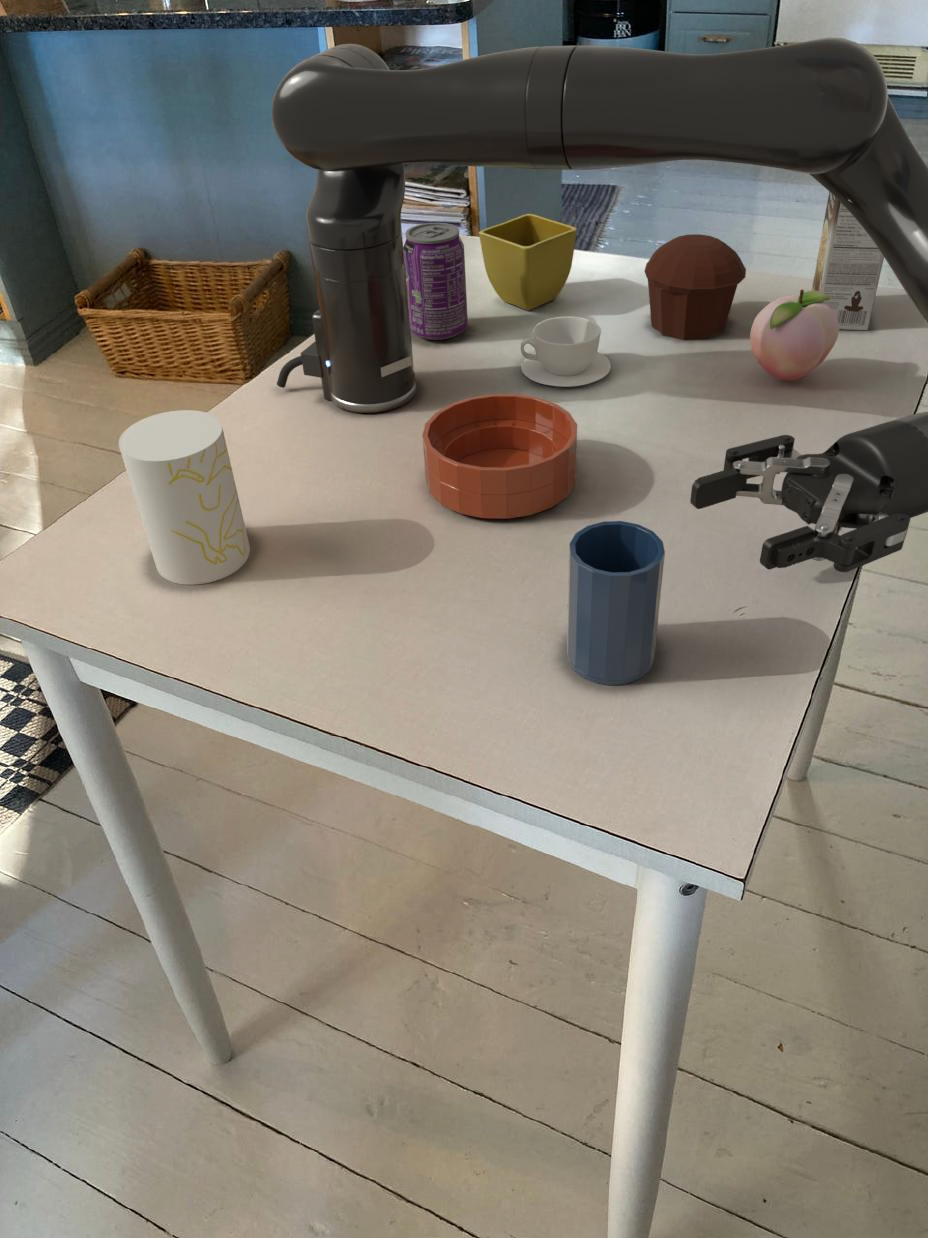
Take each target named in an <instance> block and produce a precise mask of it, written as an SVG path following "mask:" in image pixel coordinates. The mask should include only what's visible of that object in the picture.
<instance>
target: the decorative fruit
mask: <svg viewBox="0 0 928 1238" xmlns="http://www.w3.org/2000/svg"><path fill="white" fill-rule="evenodd" d="M825 300H830V298H829V296H827V295H826V294H824V293H823V292H820V291H812V290H807V291H805V289H800V291H799V295H785V296H781V297H779V298H777V299H775V300H773V301H771V302H769V303H768V304H767V305H766V306H764V307H763V308H762V309H761V310H760V312H758V313H757V315H756V316H755V317H754V320H753V322H752V325H751V328H750V334H749V341H750V347H751V351H752V353H753V354H752V355H753V356H754V358H755V359H756V361H757V364H758V365H759V366H760V367H761V368H762V370H764V371H765V372H766V373H767V374H769V376H772V377H774V378H775V379H779V380H781V381H785V382H791V381H792V382H793V381H797V380H798V379H801V378H802V379H803V377H805V376H807V375H809V373H812V371H813V370H815V369H816V368H817V367H819V366H820V365H821V364H822V363H823V362H824V361H825V360H826V358H827V357H828V355H829V354H830V352H832V349H833V347H834V346H835V344H836V343H837V340H838V337H839V334H840V329H839V323H838V319H837V317H836V314H835V312H834V311H833V309H832V308H831V307H830V306H829V305H828V304H826V303H825V302H824V301H825Z"/></svg>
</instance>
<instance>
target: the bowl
mask: <svg viewBox="0 0 928 1238" xmlns="http://www.w3.org/2000/svg"><path fill="white" fill-rule="evenodd" d="M421 437H422V448H423V461H424V471H425V481H426V485H427V488H428V491H429V494H430V496H431V497H433V498H434V499H435V500H436V501H437V502H438V503H439V504H440V505H441V506H443V507H446V508H448V509H449V510H452V511H454V512H456V513H458V514H460V515H464V516H465V515H466V516H471V517H474V518H475V517H476V518H479V519H505V520H507V519H514V518H522V517H526V516H532V515H535V514H537V513H540V512H543V511H546V510H548V509H551V508H553V507H554V506H556V505H557V504H559V503H560V502H561V501H563V500H564V499H566V498H567V497H568V496H569V495H570V493H571V492H572V490H573V489H574V487H575V486H576V483H577V481H576V480H577V453H578V450H577V449H578V424H577V422H576V420H575V419H574V417H573V415H572V414H571V413H570V412H569V411H567V410H566V409H564V408H563V407H562V406H560V405H559V404H557V403H554V402H551V401H549V400H546V399H544V398H541V397H538V396H531V395H526V394H525V395H524V394H518V393H492V394H485V395H479V396H471V397H468V398H465V399H461V400H459V401H456V402H452V403H450V404H448V405H446V406H445V407H442V408H441V409H439V410H438V411H436V412H435V413H433V415H432V416H431V417H430V418H429V419H428V420H427V421H426V422H425V424H424V428H423V431H422V436H421Z"/></svg>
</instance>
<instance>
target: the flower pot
mask: <svg viewBox="0 0 928 1238" xmlns="http://www.w3.org/2000/svg"><path fill="white" fill-rule="evenodd" d="M577 232H578V228H577V227H574V226H572V225H569V224H565V223H562V222H559V221H556V220H553V219H549V218H547V217H543V216H540V215H537V214H534V213H533V214H532V213H526V214H522V215H520V216H518V217H515V218H512V219H509V220H507V221H505V222H502V223H499V224H496V225H493V226H490V227H488V228H484V229H482V230H480V231H479V232H478V236H479V242H480V247H481V254H482V259H483V265H484V269H485V272H486V276H487V278H488V281H489V283H490V284H491V286H492V288H493V290H494V291H495V293H496V294H497V295H498V298H500V300H501V301H502V302H505V303H507V304H510V305H513V306H516V307H517V308H521V309H523V310H525V311H530V310H534V309H536V308H538V307H540V306H542V305H545V304H547V303H549V302H551V301H554V300H556V299H557V297H558V296H559V294H560V293H561V291H562V290H563V288H564V287H565V284H566V283H567V280H568V278H569V276H570V273H571V269H572V265H573V261H574V260H573V259H574V254H575V253H574V252H575V245H576V239H577Z"/></svg>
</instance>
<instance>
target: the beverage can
mask: <svg viewBox="0 0 928 1238" xmlns="http://www.w3.org/2000/svg"><path fill="white" fill-rule="evenodd" d="M403 251H404V262H405V273H406V285H407V296H408V308H409V319H410V331H411V334H413V335H415V336H418V337H420V338H422V339H425V340H429V341H445V340H449V339H451V338H454V337H456V336H457V335H459V334H462V333H463V332H464V331H466V329H468V326H469V323H468V322H469V320H468V319H469V318H468V302H467V301H468V299H467V279H466V278H467V277H466V257H465V255H466V254H465V244H464V242H463V241H462V238H461V237H460V228H459V227H458V226H456V225H454V224H452V223H447V222H425V223H420V224H417V225H414V226H411V227H409V228H408V229H406V231H405V242H404V243H403Z"/></svg>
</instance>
